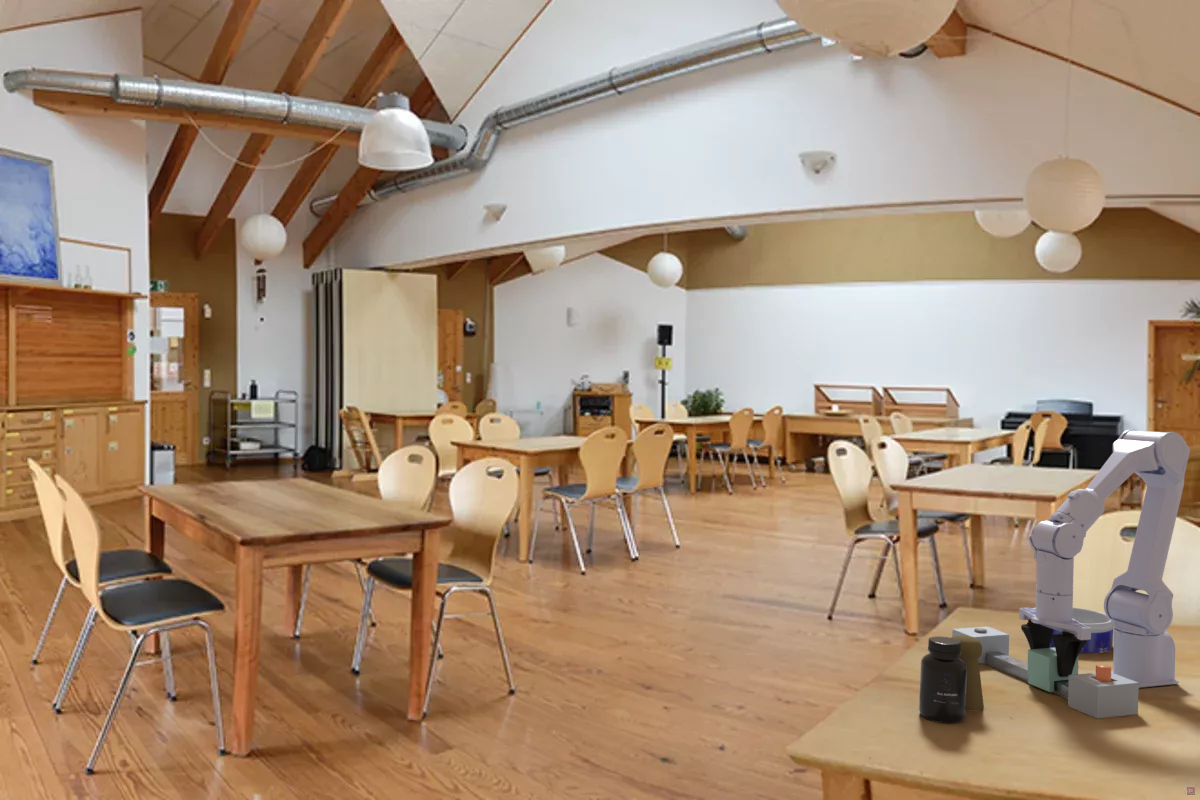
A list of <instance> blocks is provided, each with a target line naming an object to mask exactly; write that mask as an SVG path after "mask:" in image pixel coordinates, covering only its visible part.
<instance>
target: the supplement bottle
mask: <svg viewBox="0 0 1200 800" xmlns="http://www.w3.org/2000/svg"><path fill="white" fill-rule="evenodd" d="M927 644H928V645H927V651H928V652H929V653H927V654H924V655H923V657H922V658H921V661H920V672H919V673H920V675H919V676H920V677H919V704H918V705H919V707H918V709H919V710H918V711H919V713H920V715H921V716H922V717H923V718H925V719H927V720H929V721H933V722H938V723H941V724H942V723H945V724H956V723H961V722H963V721H964V720H965V718H966V711H967V710H966V685H967V665H966V663H965V661H964V660H963V659H962V658H960V657H959V655H961V642H960V641H959V640H957V639H953V638H951V637H948V636H931V637H929V638H928V643H927Z"/></svg>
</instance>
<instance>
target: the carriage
mask: <svg viewBox="0 0 1200 800" xmlns="http://www.w3.org/2000/svg"><path fill="white" fill-rule="evenodd" d="M1027 663H1028V669H1027V673H1028V682H1027V684H1030V685H1032V686H1034V687H1036V688H1039V689H1041V690H1044V691H1045V692H1048V693H1052V692H1054V681H1060V680H1069V676H1068V677H1060V676H1059V675H1058V671H1057V655H1056V649H1055V647H1054V648H1042V649H1030V648H1029V649H1027ZM1076 674H1079V656H1078V657H1077V659H1076V662H1075V665H1074V668H1073V671H1072V674H1071V675H1076Z"/></svg>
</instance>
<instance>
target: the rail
mask: <svg viewBox="0 0 1200 800" xmlns="http://www.w3.org/2000/svg"><path fill="white" fill-rule="evenodd" d="M985 664H986V665H987V664H988V666H989V667H992V668H994V667H995V669H996V670H999V671H1002V672H1004V673H1006V674H1008V675H1011V676H1013V677H1016V678H1017V679H1020V680H1023V681H1024V682H1027V683H1028V673H1027V669H1028V662H1025V661H1023V660H1020V659H1018V658H1015V657H1013V656H1010V655H1009V656H1008V655H1006V654H1003V653H1001V652H994V653H986V663H985ZM1068 684H1069V680H1060V681H1054V692H1051V693H1053V694H1055V695H1058V696H1060V697H1062V698H1065V699H1066V700H1068Z"/></svg>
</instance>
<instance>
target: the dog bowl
mask: <svg viewBox="0 0 1200 800" xmlns="http://www.w3.org/2000/svg"><path fill="white" fill-rule="evenodd" d="M1032 609H1036V606H1035V607H1033V608H1032ZM1072 618H1073V619H1074V620H1076V621H1078V622H1080V623H1081V624H1083V625H1085V626H1087V627H1090V628H1091V639H1090V640H1087V642H1086V644H1085V645H1084V646H1083V648H1082V649H1081V651H1080V653H1079V654H1084V653H1097V654H1102V653H1101V652H1105V653H1107V652H1106V651H1108V652H1110V651H1112V650H1113V645H1114V626H1112V625H1111V620H1110V619H1109V618H1108V617H1107V615H1106V614H1105V612H1101V611H1098V610H1093V609H1089V608H1088V609H1087V608H1083V607H1075V606H1074V607H1073V615H1072ZM1056 634H1062V632H1060V631H1057V630H1054V632H1053V634H1052V635H1056ZM1054 647H1055V645H1054V642H1053V639H1052V638H1051V641H1050V647H1049V648H1054ZM1109 650H1110V651H1109Z"/></svg>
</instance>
